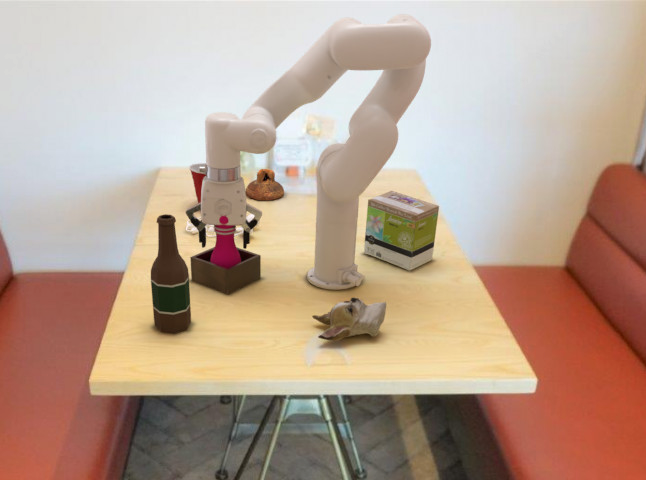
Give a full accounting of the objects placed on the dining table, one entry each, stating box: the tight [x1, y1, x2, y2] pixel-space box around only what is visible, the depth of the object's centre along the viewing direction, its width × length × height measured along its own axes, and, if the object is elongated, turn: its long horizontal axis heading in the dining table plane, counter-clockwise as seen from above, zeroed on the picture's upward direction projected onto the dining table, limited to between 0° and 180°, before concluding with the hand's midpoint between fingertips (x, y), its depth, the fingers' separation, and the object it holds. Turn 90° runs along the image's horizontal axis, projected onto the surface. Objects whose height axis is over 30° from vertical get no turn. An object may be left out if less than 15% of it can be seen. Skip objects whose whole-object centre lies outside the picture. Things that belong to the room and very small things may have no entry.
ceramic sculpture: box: [311, 297, 388, 342], centre depth 167 cm, size 11×9×15 cm
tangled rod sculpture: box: [185, 213, 261, 238], centre depth 215 cm, size 19×14×4 cm
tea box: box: [363, 190, 440, 272], centre depth 200 cm, size 15×10×15 cm
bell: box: [245, 168, 285, 201], centre depth 240 cm, size 12×12×7 cm
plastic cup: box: [188, 162, 206, 204], centre depth 228 cm, size 11×11×12 cm
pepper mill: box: [210, 215, 241, 269], centre depth 185 cm, size 7×7×20 cm
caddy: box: [189, 246, 262, 295], centre depth 189 cm, size 12×12×6 cm
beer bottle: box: [150, 213, 192, 334], centre depth 164 cm, size 8×8×24 cm
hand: (224, 245), depth 186 cm, fingers open, 9 cm apart
